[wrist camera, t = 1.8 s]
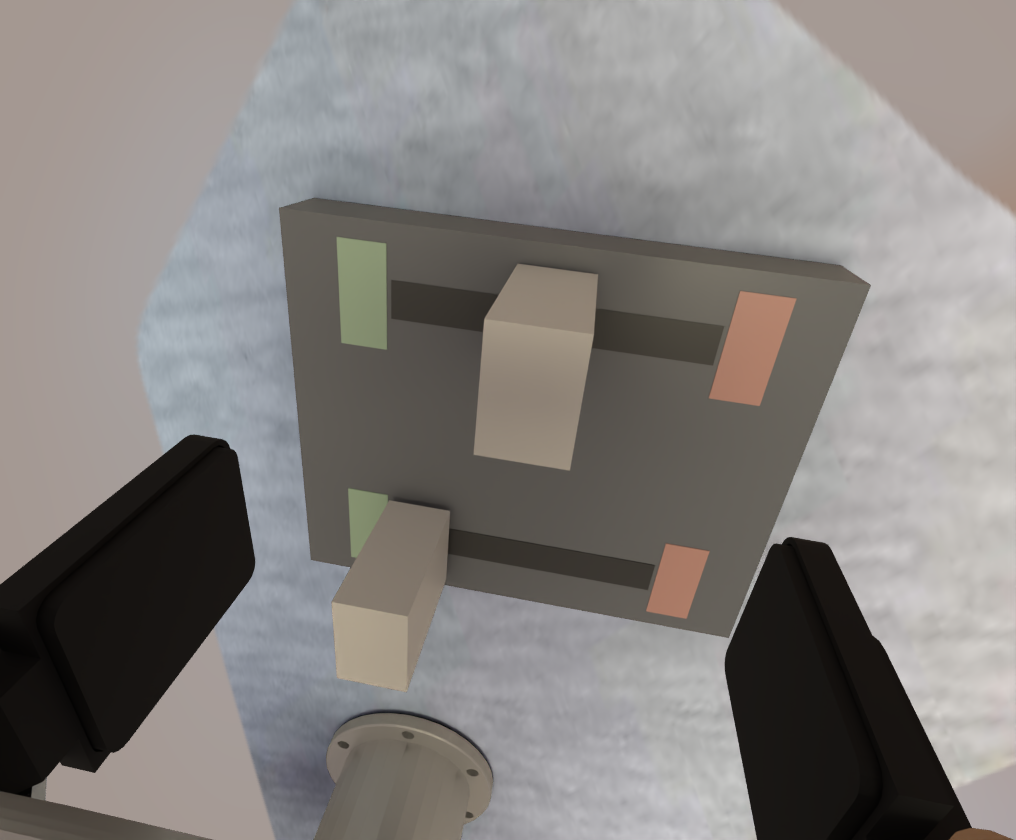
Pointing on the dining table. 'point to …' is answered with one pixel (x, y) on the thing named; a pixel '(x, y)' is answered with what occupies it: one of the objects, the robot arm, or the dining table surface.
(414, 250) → the breaker panel
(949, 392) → the dining table surface
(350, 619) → the block
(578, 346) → the block
